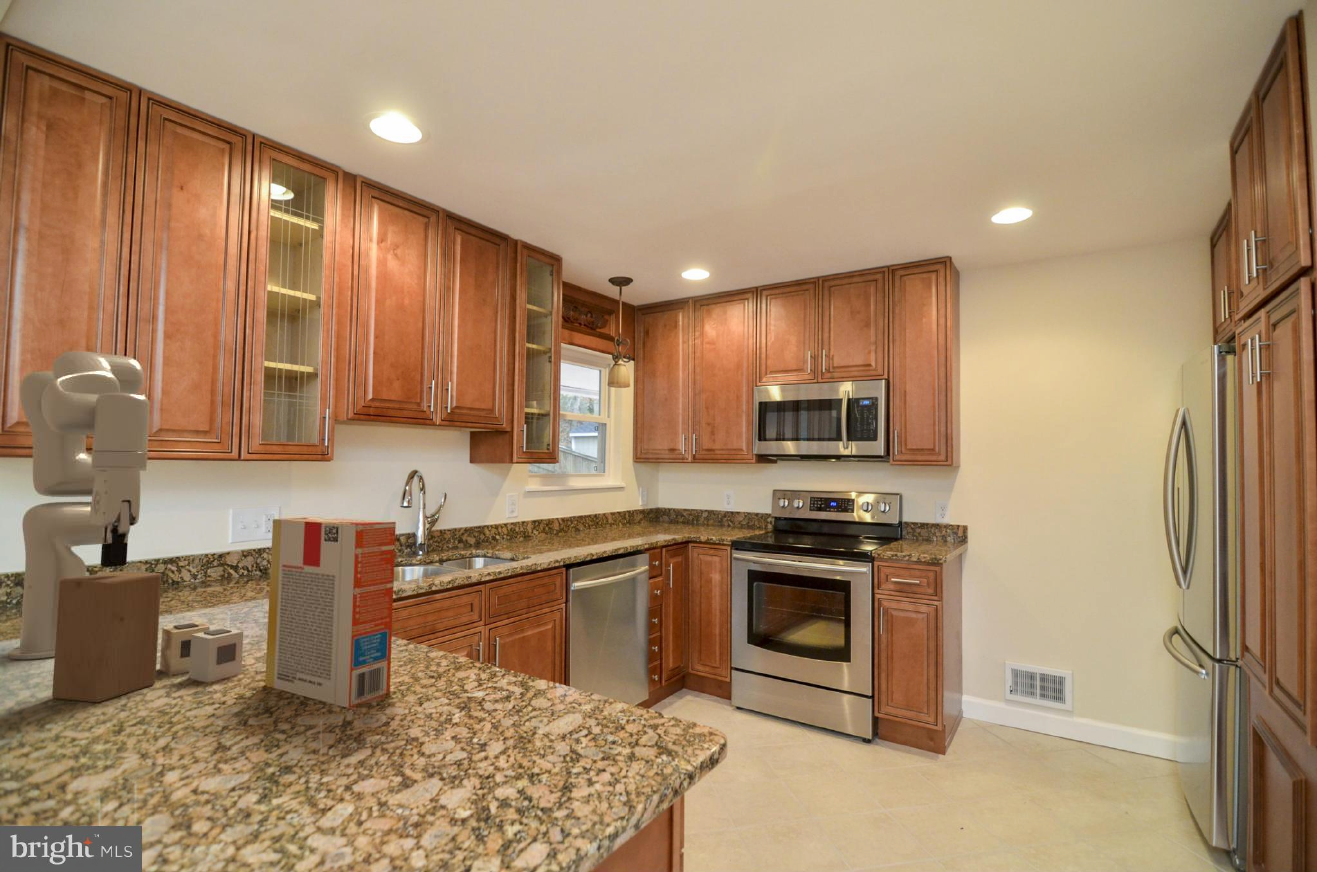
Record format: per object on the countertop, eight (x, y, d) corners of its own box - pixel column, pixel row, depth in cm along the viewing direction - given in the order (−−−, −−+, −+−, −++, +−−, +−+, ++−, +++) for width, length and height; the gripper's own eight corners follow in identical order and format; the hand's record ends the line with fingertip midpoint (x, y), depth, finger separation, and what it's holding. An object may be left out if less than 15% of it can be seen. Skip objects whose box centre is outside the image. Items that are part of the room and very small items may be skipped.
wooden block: (97, 703, 104) (105, 581, 106) (50, 699, 106) (58, 579, 108) (156, 684, 114) (163, 572, 116) (112, 680, 116) (118, 570, 118)
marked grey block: (188, 677, 118) (191, 632, 119) (222, 669, 124) (225, 626, 124) (208, 683, 115) (210, 637, 116) (242, 674, 121) (244, 630, 121)
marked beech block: (159, 669, 123) (162, 626, 124) (196, 662, 128) (198, 620, 129) (171, 675, 119) (173, 631, 120) (207, 667, 124) (210, 625, 125)
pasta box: (389, 693, 111) (395, 521, 113) (348, 707, 104) (355, 524, 106) (307, 673, 121) (314, 516, 123) (265, 685, 114) (273, 519, 116)
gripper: (80, 462, 114) (74, 564, 113) (104, 461, 105) (97, 572, 104) (133, 463, 120) (127, 560, 119) (159, 462, 112) (153, 567, 110)
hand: (113, 565), depth 112 cm, fingers closed
